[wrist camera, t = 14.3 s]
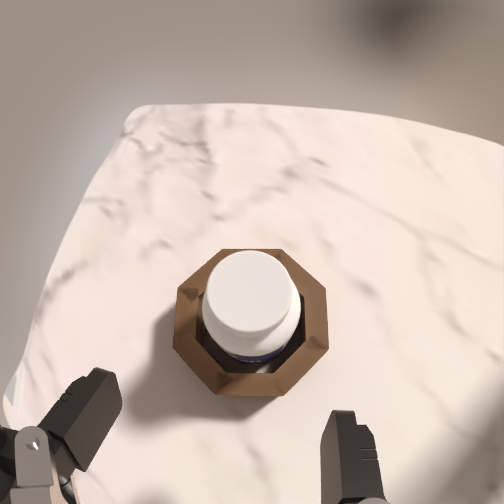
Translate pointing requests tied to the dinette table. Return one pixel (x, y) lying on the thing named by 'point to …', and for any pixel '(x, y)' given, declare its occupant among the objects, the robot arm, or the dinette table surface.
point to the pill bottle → (251, 306)
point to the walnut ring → (251, 384)
